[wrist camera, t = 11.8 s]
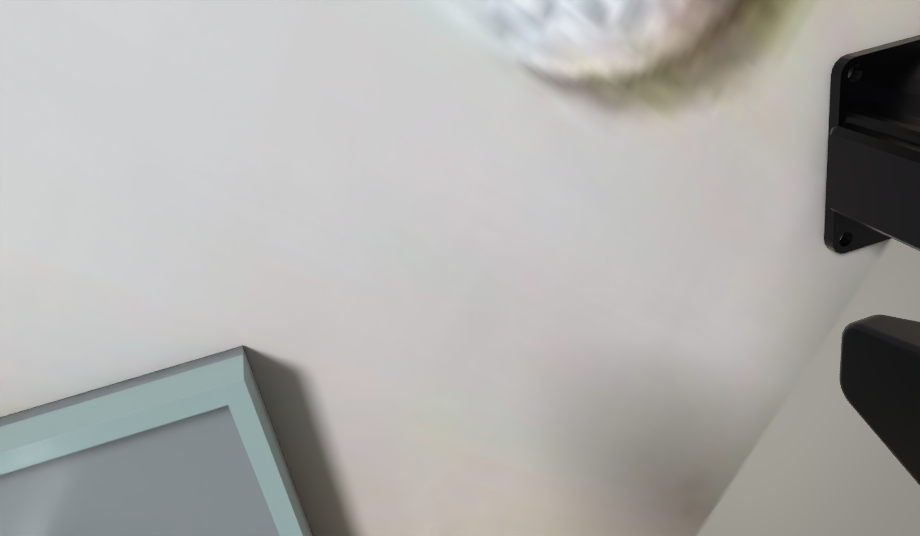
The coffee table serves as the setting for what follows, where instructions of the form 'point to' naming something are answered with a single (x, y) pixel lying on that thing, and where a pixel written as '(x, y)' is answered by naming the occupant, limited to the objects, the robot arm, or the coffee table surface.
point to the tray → (151, 459)
